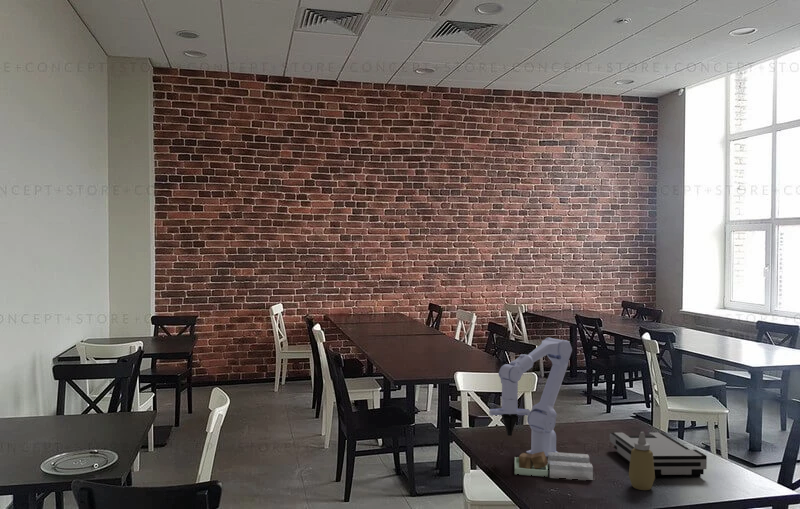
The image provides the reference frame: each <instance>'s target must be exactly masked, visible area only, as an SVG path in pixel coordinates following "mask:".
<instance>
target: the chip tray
mask: <svg viewBox="0 0 800 509" xmlns="http://www.w3.org/2000/svg"><path fill="white" fill-rule="evenodd" d="M517 474H519V475H520V476H531V475H532V476H533V477H534V476H535V477H544V476H545V478H546V477H547V478H549V470H548V464H547V465H546V467H542V468H538V469H535V468H534V466H533V467H532V468H531V469H526V468H520V467H519V456H517V457H516V456H514V475H517Z"/></svg>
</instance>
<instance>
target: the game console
mask: <svg viewBox="0 0 800 509" xmlns="http://www.w3.org/2000/svg"><path fill="white" fill-rule="evenodd" d="M638 439H639V435H627V434H626V433H624V432H609V442H610V443H612V445H614V447H613V448H614V449H615V450H616V455H618V456H619V457H620V458H621V459H622V460H624V461H625V462H626V463H628V464H629V465H630V458H631V450H632V449H633V448H635V447H634V443H635V442H638ZM645 439H646V442H647V443H649V444H650V449H649V450H651V451H652V452H653V461H654V472H655V478H664V476H665V475H668V476H669V475H670V476H672V475H673V476H675V475H681V476H682V477H683V478H690V477H691V478H692V477H693V478H700V477H701V476H702V475H704V470H707V467H708V466H707V459H708V458H707V457H708V456H707V455H706V454H704V453H703V452H702V451H699V450H698V449H690V448H689V447H687V446H686V445H684V444H682V443H680V442H678V441H677V440H675V439H674V438H672V437H671V436H669V435H667V434H665V433H663V432H648V435H645Z"/></svg>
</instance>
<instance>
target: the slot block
mask: <svg viewBox="0 0 800 509" xmlns="http://www.w3.org/2000/svg"><path fill="white" fill-rule="evenodd" d="M547 461H548V463H547V466H548V469H549V470H548V477H549V478H550V479H559V478H566V479H565V480H572V479H578V480H577V481H586V480H594V467H593V464H592V463H591V461H590V456H589V454H588V453H587V454H585V453H572V452H559V451H557V452H548V456H547Z"/></svg>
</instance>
